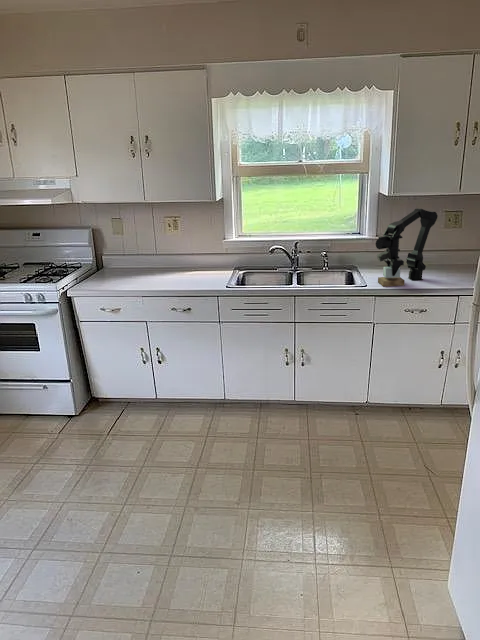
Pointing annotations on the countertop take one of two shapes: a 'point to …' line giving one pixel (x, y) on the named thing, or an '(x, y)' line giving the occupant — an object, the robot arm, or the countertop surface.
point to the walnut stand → (391, 281)
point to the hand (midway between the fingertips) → (391, 274)
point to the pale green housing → (390, 272)
